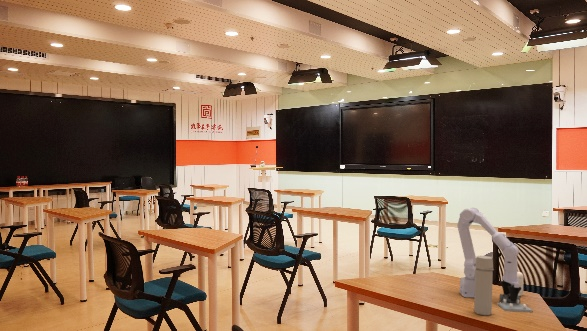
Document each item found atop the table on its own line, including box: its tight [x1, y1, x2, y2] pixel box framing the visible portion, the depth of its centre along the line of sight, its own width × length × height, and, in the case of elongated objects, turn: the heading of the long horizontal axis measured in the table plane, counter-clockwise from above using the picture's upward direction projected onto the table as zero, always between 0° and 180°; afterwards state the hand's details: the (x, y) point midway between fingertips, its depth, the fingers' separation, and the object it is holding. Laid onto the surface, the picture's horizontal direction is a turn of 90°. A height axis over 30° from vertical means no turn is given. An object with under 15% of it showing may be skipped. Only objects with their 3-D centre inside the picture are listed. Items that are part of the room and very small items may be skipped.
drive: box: [499, 293, 521, 304], centre depth 211 cm, size 8×4×4 cm, turn 86°
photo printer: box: [517, 271, 525, 297], centre depth 224 cm, size 10×4×12 cm, turn 123°
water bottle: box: [473, 255, 495, 317], centre depth 196 cm, size 9×8×25 cm
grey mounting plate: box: [496, 299, 533, 313], centre depth 203 cm, size 12×9×3 cm
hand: (510, 298), depth 211 cm, fingers open, 7 cm apart
